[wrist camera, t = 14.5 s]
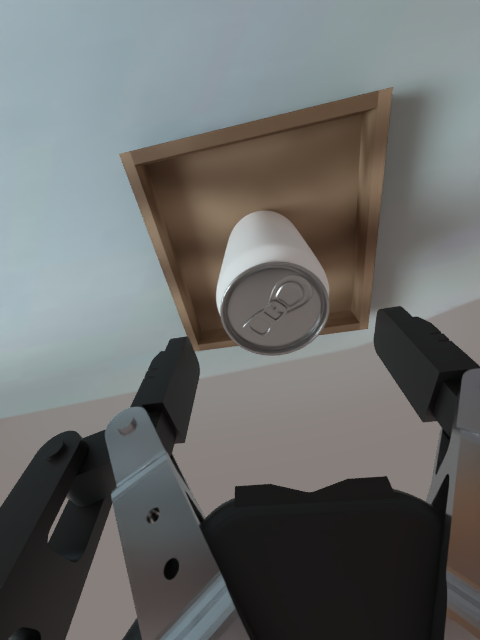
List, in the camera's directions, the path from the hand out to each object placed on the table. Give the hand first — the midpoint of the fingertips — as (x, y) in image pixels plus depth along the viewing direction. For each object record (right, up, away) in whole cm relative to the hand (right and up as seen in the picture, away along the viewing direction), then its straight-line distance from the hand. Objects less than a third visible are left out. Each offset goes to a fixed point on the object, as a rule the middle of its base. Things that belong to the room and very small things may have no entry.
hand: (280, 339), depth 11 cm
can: (0, +8, +12) cm, 15 cm away
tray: (0, +8, +13) cm, 15 cm away
